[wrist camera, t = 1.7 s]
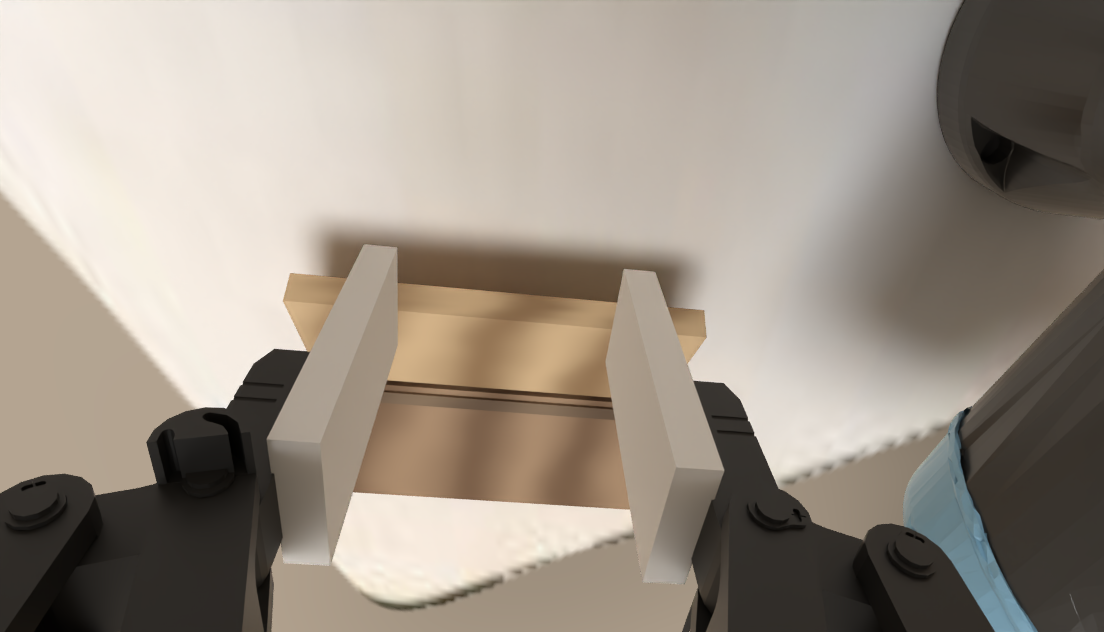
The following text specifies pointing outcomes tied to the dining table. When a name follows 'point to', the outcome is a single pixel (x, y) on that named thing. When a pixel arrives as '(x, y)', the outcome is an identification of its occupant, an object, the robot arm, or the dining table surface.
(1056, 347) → the robot arm
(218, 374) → the dining table surface
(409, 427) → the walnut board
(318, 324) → the oak plank
